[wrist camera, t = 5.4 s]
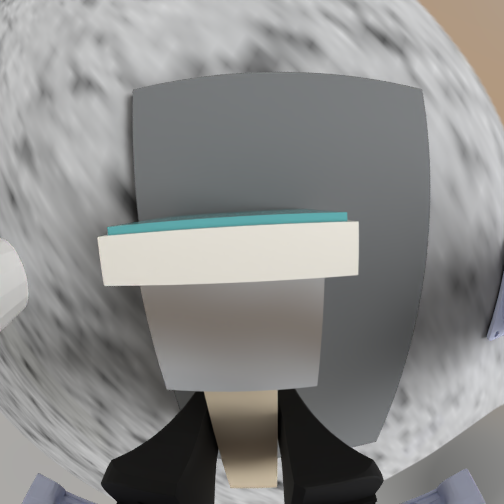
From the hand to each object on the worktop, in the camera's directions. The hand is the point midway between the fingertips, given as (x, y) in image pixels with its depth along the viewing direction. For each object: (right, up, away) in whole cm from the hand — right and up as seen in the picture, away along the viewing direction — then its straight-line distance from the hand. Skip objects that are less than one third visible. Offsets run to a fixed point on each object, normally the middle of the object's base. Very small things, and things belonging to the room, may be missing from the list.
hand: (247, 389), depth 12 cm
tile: (0, +7, 0) cm, 7 cm away
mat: (+2, +3, +2) cm, 4 cm away
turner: (0, +1, +2) cm, 2 cm away
